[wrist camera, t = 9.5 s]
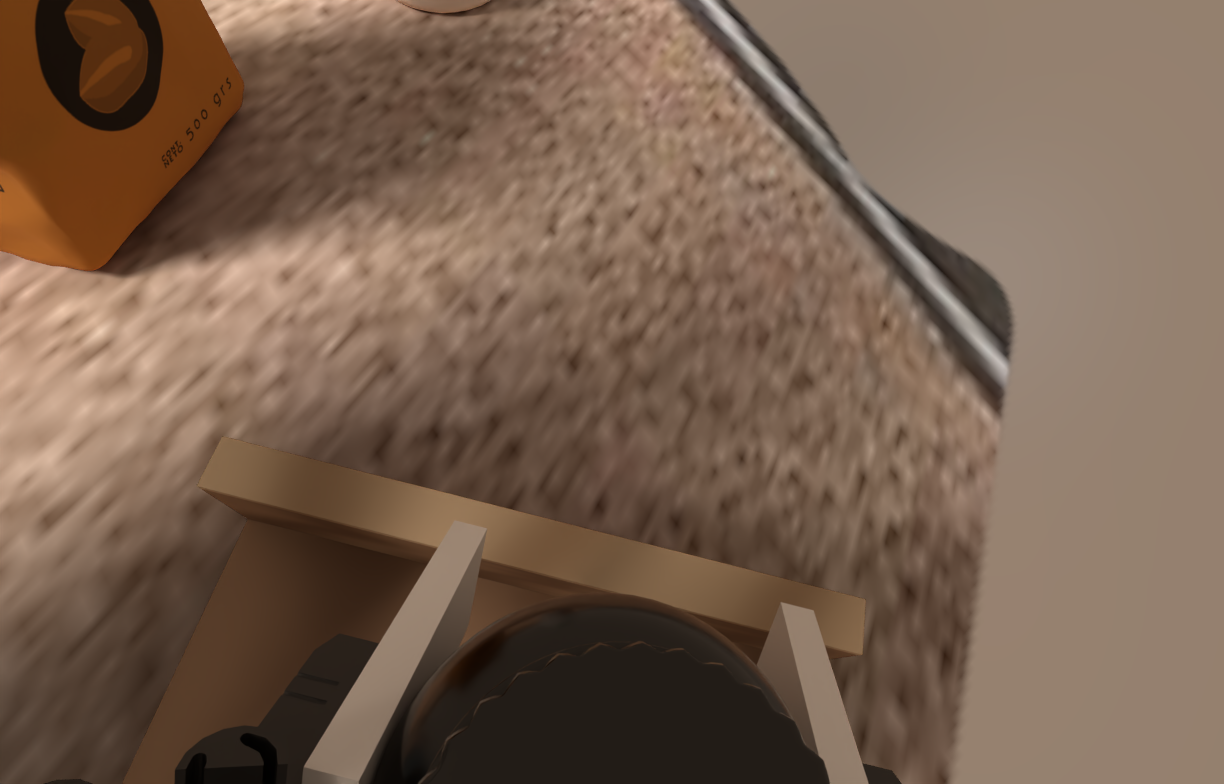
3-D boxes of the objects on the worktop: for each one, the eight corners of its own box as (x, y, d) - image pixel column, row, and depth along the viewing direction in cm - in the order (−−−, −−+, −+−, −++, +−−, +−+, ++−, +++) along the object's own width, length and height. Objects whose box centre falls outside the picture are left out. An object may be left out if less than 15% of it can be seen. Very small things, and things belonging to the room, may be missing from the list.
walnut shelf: (102, 868, 20) (-31, 919, 15) (280, 485, 25) (222, 436, 20) (763, 1035, 20) (834, 1137, 15) (803, 617, 25) (865, 599, 20)
